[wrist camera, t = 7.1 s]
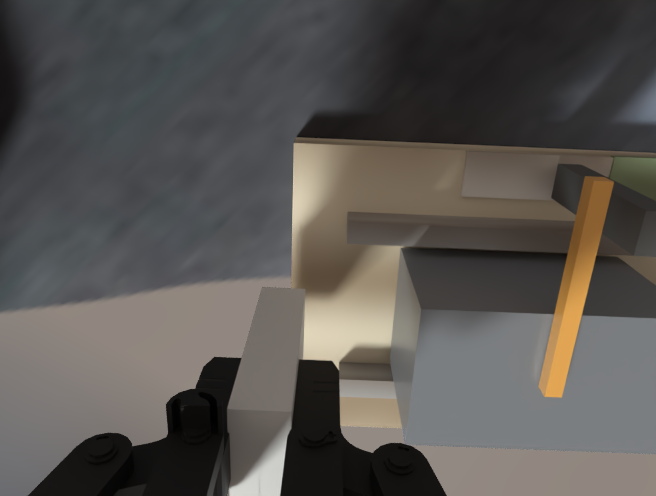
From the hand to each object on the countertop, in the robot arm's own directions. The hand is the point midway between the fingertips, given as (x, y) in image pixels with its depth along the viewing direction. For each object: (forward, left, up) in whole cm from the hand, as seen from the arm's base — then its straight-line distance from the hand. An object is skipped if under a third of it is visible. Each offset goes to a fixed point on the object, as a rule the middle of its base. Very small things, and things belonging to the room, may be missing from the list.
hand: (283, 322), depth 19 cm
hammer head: (-5, +9, -1) cm, 11 cm away
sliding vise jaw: (-2, +12, -2) cm, 12 cm away
